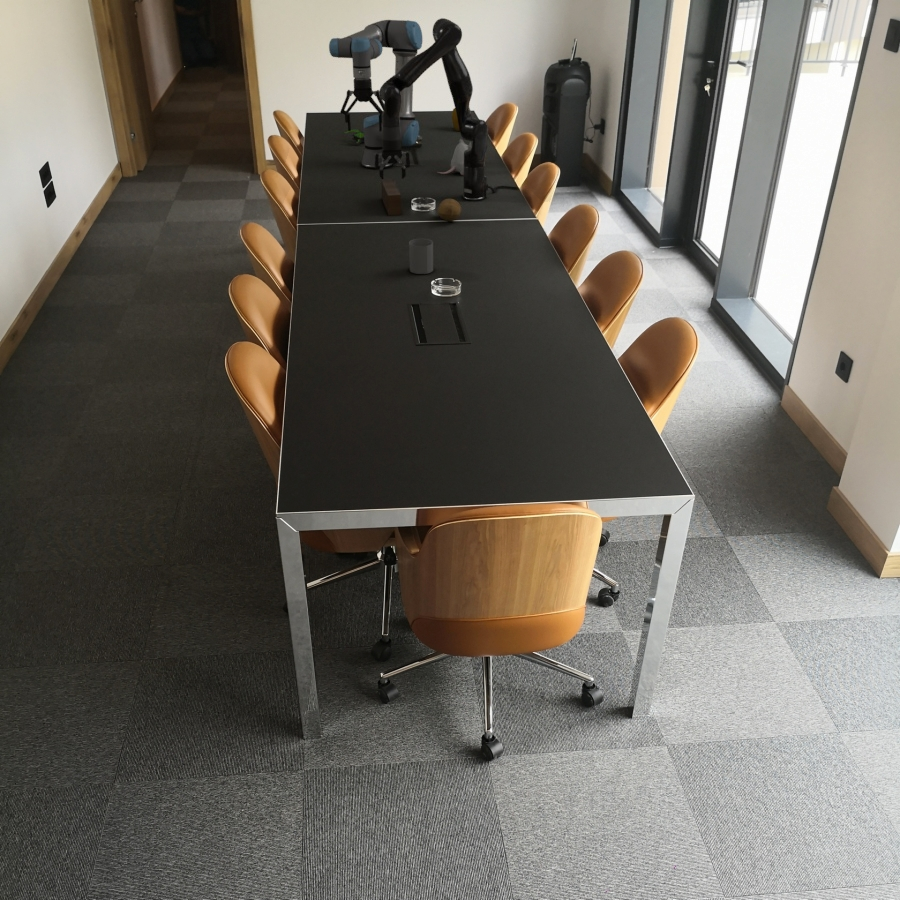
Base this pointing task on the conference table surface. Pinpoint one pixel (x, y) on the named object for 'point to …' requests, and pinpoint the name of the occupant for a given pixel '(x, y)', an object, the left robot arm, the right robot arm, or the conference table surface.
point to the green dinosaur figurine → (356, 137)
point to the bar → (391, 197)
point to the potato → (449, 209)
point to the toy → (458, 158)
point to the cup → (421, 256)
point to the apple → (455, 119)
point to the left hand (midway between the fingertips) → (365, 130)
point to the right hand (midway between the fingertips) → (392, 178)
